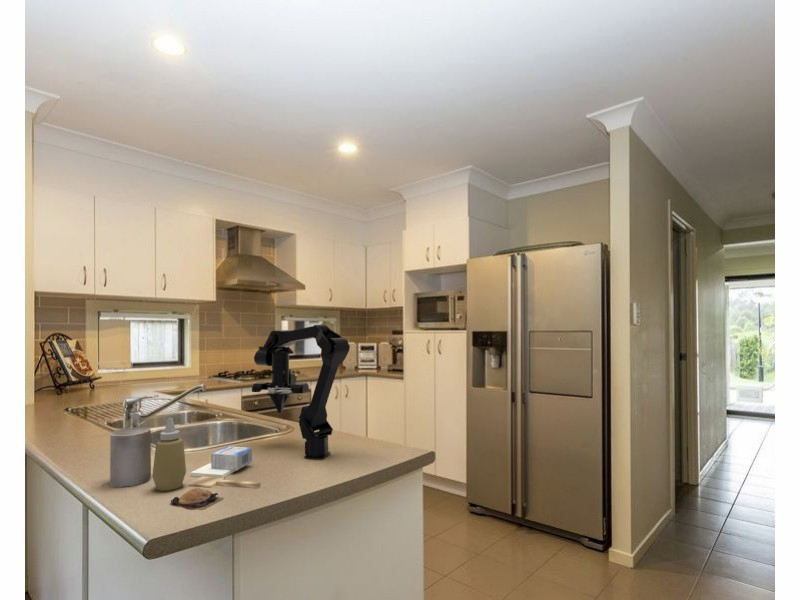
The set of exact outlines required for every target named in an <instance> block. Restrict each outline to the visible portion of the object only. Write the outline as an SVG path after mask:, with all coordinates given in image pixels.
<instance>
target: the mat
mask: <svg viewBox="0 0 800 600" xmlns="http://www.w3.org/2000/svg"><path fill="white" fill-rule="evenodd" d="M253 459H254V458H253V457H252V462H254V460H253ZM252 462H251V463H252ZM236 471H238V470H225V469H213V468H211V462H209V463H207V464H206V465H203V466H201V467H199V468H197V469H195V470H193V471H191V472H190V477H197V478H200V477H202V476H203V477H216V478H226V477H228V476H229V475H232V474H233V473H234V472H236Z"/></svg>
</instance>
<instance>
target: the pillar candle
mask: <svg viewBox="0 0 800 600" xmlns="http://www.w3.org/2000/svg"><path fill="white" fill-rule="evenodd" d="M151 435H152V433H151V427H148V426H135V427H133V425H131V426H130V427H124V428H120V429H117V430H113V431H112V432H110V435H109V438H110V441H109V443H110V444H109V445H110V446H109V447H110V448H109V451H110V453H109V454H110V457H109V458H110V461H109V465H110V467H109V468H110V469H109V473H110V474H109V477H110V479H109V480H110V481H109V483H110V486H111V487H113V488H124V487H134V486H139V485H142V484H144V483H147V482H148V481H150V480H151V478H152V459H151V458H152V447H151V446H152V445H151V444H152V443H151V441H152V439H151V438H152V436H151Z"/></svg>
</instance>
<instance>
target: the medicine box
mask: <svg viewBox="0 0 800 600" xmlns="http://www.w3.org/2000/svg"><path fill="white" fill-rule="evenodd" d="M210 455H211V457H210V460H211V462H210V463H211V468H213V469H225V470H237V471H239V470H240V469H242V468H243V467H245V466H247V465H249V464H251V463H252V458H253V448H252V447H242V446H240V447H239V446H229V445H228V446H226V447H223V448H221V449H219V450H216V451H214V452H212V453H211V454H210Z"/></svg>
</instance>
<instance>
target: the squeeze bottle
mask: <svg viewBox="0 0 800 600" xmlns="http://www.w3.org/2000/svg"><path fill="white" fill-rule="evenodd" d="M175 426H176V425H175V423H174V418H173V417H167V419H166V424H165V429H164V431H161V432H160V434H159V440H158V441H157V442H156V443H155V449H154V451H155V452H154V459H153V467H152V474H151V478H152V480H153V482H154V485H155V488H156V490H157V491H163V492H164V491H166V492H167V491H172V490H176V489H179V488H181V487H182V485H183V483H184V480H185V476H186V473H187V467H186V466H187V465H186V456H185V446H184V440H183V439H182V438H180V437H181V435H180V430H178V429H176V427H175Z"/></svg>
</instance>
